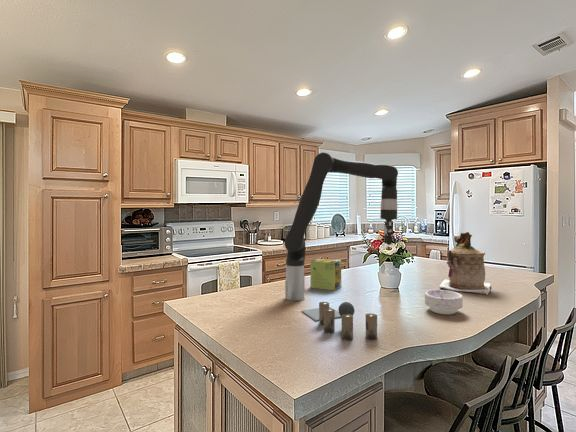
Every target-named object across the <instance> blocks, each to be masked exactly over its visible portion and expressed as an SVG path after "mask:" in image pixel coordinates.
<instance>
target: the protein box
mask: <svg viewBox="0 0 576 432" xmlns="http://www.w3.org/2000/svg"><path fill="white" fill-rule="evenodd" d="M309 269H310V282H309V283H310V284H309V285H310V288H311V289H312V288H313V289H321V290H329V291H337V290H338V289H339V288H342V260H340V259H327V258H324V259H323V258H317V259H313V260H310V268H309Z"/></svg>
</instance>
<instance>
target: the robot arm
mask: <svg viewBox="0 0 576 432" xmlns="http://www.w3.org/2000/svg"><path fill="white" fill-rule="evenodd" d="M312 163H313V164H312V166H311V172H310V174H309V177H308V178H309V179H308V180H307V183H306V184H305V187H304V190H303V192H302V194H301V197H300V200H299V203H298V205H297V209H296V212H295V214H294V219H293V222H292V224H291V226H290V229H289V231H288V233H287V234H286V237H285V238H284V247H285V249H286V251H287V254H286V255H287V256H286V260H285V268H286V269H285V270H286V271H285V273H286V275H285V277H286V278H285V280H284V287H285V288H284V293H285V295H284V296H285V300H288V301H290V302H300V301H304V300H305V296H306V295H305V289H306V288H305V259H306V239H305V234H306V230H307V228H308V226H309V224H310V223H311V221H312V219H313V218H314V216H315V214H316V211H317V210H318V207H319V204H320V201H321V197H322V192H323V191H322V190H323V186H324V181H325V180H326V178H327V175H328V174H329V173H339V174H345V175H346V174H347V175H352V176H357V177H362V178H367V179H380V180H381V197H380V200H381V201H380V217H379V218H380V220H384V222H383V233H384V234H383V235H384V244H386V245H392V244H393V236H394V221H393V220H397V219H398V190H397V185H398V183H397V182H398V176H399V171H398V168H396V167H395V166H393V165H389V164H379V163H378V164H376V163H371V162H365V161H358V160H357V161H354V160H353V161H351V160H343V159H339V158H336V157H333V156H332V155H331V154H329V153H328V152H325V151H324V152H323V151H322V152H320V153H318V154H317V155H316V156H315V157H314V159H313V162H312Z"/></svg>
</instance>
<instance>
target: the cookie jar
mask: <svg viewBox="0 0 576 432" xmlns="http://www.w3.org/2000/svg"><path fill="white" fill-rule="evenodd" d="M472 237H473V235H472V234H471V233H470V232H469V231H466V232H461V233H460V235H456V236H454V238H453V239H454V242H455V243H456V244H455V247H453V248H452V249H450V250H448V251H447V253H446V254H447V261H446V265H447V266H448V268H449V270H448V275H447V276H448V278H449V279H443V281H442V282H441V283H440V285H439V287H438V289H440V288H442V289H444V290H447V291H453V292H466V293H474V294H475V293H476V294H482V295H487V296H488V295H489V293H490V291H491V283H490V282H485V281H486V267H485V259H484V256H485V254H486V252H485V251H481V250H478V249H476V248H475V247H474V246H472V243H471V242H472V241H471V239H472Z"/></svg>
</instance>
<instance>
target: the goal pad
mask: <svg viewBox="0 0 576 432" xmlns="http://www.w3.org/2000/svg"><path fill="white" fill-rule="evenodd" d="M329 308H331V309H334V310H335V320H337V319H342V317H341V316H340V314H339V311H338V310H336V309H335V308H333V307H331V306H329ZM301 313H303V315H305V316H307V317H308V318H310V319H312V320H313V321H315V322H319V307H317V308H310V309H302V310H301Z"/></svg>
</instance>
